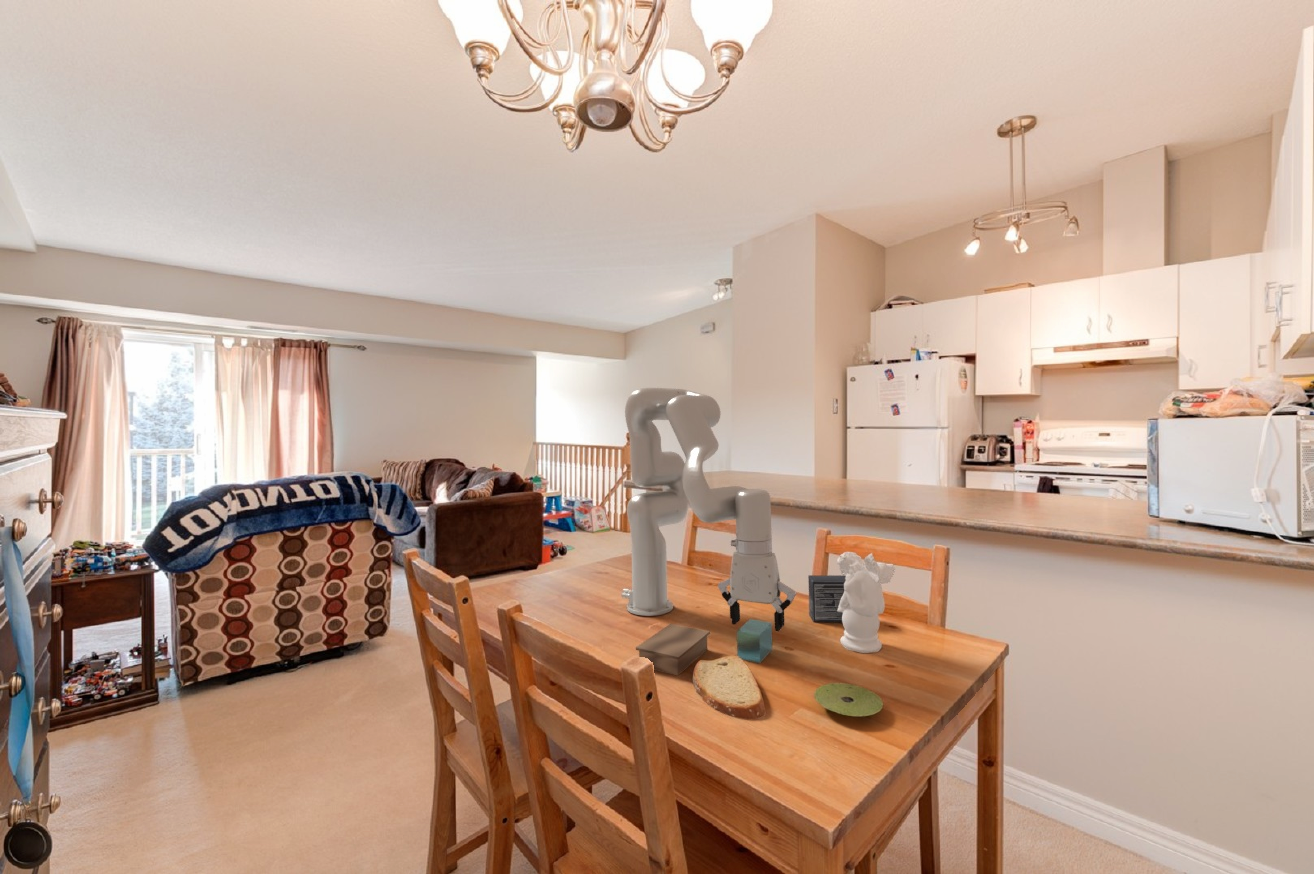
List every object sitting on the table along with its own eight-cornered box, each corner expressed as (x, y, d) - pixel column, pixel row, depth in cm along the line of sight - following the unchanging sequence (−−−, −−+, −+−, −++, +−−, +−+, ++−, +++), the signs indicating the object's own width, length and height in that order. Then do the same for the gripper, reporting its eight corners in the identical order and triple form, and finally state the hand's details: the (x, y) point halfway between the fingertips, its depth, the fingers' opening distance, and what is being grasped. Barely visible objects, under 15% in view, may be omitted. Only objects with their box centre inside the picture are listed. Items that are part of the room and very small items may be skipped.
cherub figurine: (832, 637, 125) (830, 543, 125) (883, 634, 126) (881, 541, 126) (856, 658, 113) (854, 554, 113) (912, 655, 114) (910, 552, 114)
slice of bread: (757, 726, 89) (757, 703, 89) (665, 697, 99) (665, 677, 99) (793, 682, 104) (792, 663, 104) (710, 661, 114) (710, 643, 114)
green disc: (829, 686, 101) (829, 676, 101) (891, 705, 94) (891, 694, 94) (803, 712, 93) (803, 700, 93) (870, 735, 86) (870, 723, 86)
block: (737, 658, 114) (737, 630, 114) (750, 645, 121) (750, 618, 121) (759, 663, 112) (759, 635, 112) (772, 649, 119) (771, 622, 119)
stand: (636, 666, 111) (635, 647, 111) (670, 640, 124) (670, 623, 124) (678, 677, 106) (678, 657, 106) (710, 649, 119) (710, 631, 119)
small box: (849, 614, 139) (849, 574, 139) (856, 623, 133) (856, 581, 133) (808, 613, 140) (807, 573, 140) (813, 622, 134) (812, 581, 134)
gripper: (710, 547, 117) (713, 625, 117) (788, 553, 108) (791, 638, 108) (724, 540, 124) (726, 615, 124) (798, 546, 115) (801, 626, 115)
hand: (756, 625), depth 116 cm, fingers open, 9 cm apart
